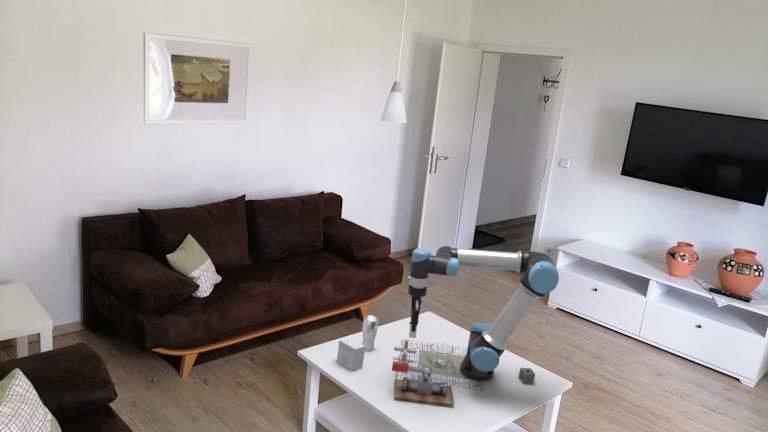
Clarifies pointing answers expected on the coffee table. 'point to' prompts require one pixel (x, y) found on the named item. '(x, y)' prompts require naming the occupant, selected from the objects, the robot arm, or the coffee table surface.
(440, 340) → the coffee table surface
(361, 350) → the skincare box
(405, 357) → the pipe connector
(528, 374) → the dice cube
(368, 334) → the beer glass
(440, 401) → the walnut board
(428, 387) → the valve body
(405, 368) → the valve handle
